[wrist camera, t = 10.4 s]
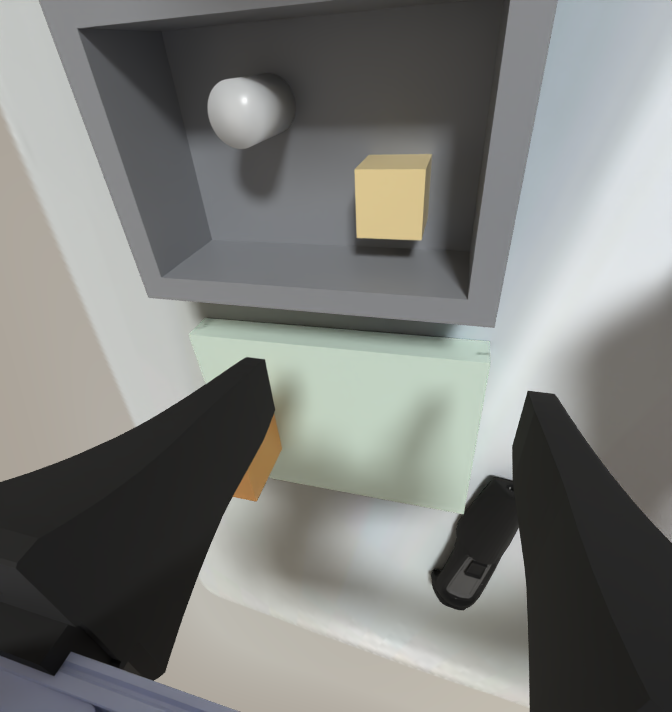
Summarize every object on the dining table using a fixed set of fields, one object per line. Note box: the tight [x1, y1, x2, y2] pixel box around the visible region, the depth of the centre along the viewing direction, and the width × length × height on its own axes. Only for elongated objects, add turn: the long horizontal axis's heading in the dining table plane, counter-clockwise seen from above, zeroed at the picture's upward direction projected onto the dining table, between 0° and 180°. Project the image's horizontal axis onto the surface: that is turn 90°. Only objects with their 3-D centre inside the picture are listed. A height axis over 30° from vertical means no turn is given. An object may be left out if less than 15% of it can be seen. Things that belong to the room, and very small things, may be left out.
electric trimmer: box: [431, 478, 519, 610], centre depth 29 cm, size 4×16×3 cm, turn 174°
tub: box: [39, 0, 558, 328], centre depth 15 cm, size 14×10×5 cm
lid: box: [189, 318, 490, 514], centre depth 24 cm, size 16×12×6 cm
